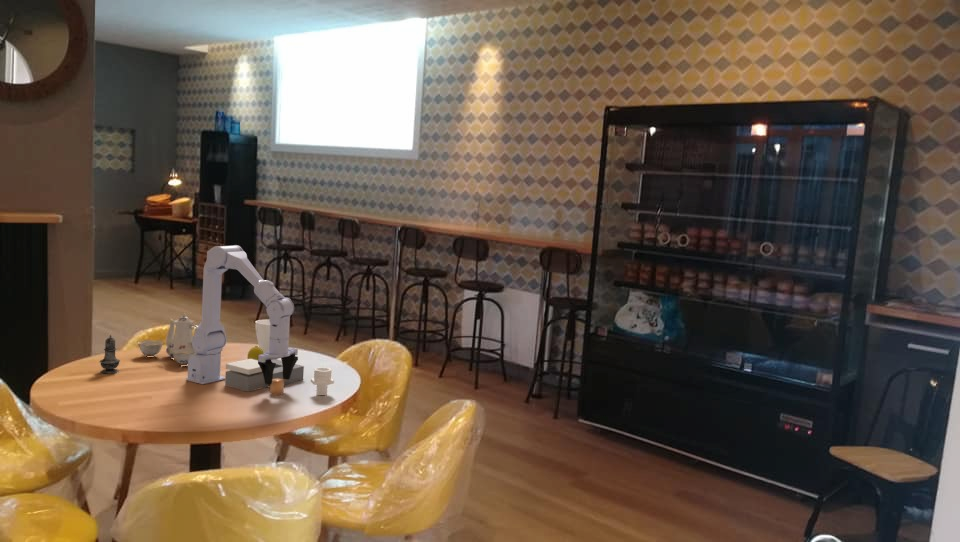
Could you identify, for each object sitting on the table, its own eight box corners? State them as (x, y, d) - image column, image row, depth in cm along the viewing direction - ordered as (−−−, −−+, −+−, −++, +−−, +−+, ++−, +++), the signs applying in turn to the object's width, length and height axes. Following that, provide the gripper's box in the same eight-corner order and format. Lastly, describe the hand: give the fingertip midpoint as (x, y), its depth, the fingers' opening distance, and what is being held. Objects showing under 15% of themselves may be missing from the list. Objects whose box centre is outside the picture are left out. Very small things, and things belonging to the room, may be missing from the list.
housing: (252, 392, 216) (253, 378, 215) (220, 384, 222) (221, 370, 222) (303, 379, 235) (303, 366, 234) (272, 371, 241) (272, 358, 241)
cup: (247, 358, 256) (249, 322, 255) (264, 353, 266) (266, 318, 265) (272, 362, 253) (274, 325, 252) (288, 357, 263) (290, 321, 262)
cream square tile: (248, 374, 216) (248, 369, 216) (225, 368, 221) (226, 363, 221) (272, 369, 225) (273, 364, 225) (250, 363, 229) (250, 358, 229)
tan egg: (276, 395, 215) (277, 382, 214) (267, 393, 217) (267, 380, 216) (286, 392, 218) (286, 380, 218) (276, 390, 220) (277, 377, 220)
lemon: (260, 371, 241) (261, 348, 240) (244, 369, 241) (245, 346, 240) (265, 367, 247) (266, 344, 246) (250, 366, 247) (251, 343, 246)
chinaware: (127, 361, 246) (124, 315, 243) (165, 349, 261) (163, 305, 258) (188, 375, 236) (186, 327, 232) (224, 361, 251) (222, 315, 248)
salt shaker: (123, 370, 229) (124, 334, 228) (112, 374, 223) (113, 337, 222) (106, 368, 230) (107, 332, 229) (95, 373, 224) (95, 335, 223)
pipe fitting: (337, 394, 221) (338, 369, 220) (320, 398, 215) (322, 373, 214) (322, 390, 224) (323, 365, 223) (305, 394, 218) (307, 369, 217)
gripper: (271, 343, 208) (269, 388, 209) (305, 336, 220) (303, 379, 222) (254, 339, 211) (252, 384, 212) (288, 333, 224) (287, 375, 225)
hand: (277, 381), depth 217 cm, fingers open, 7 cm apart
